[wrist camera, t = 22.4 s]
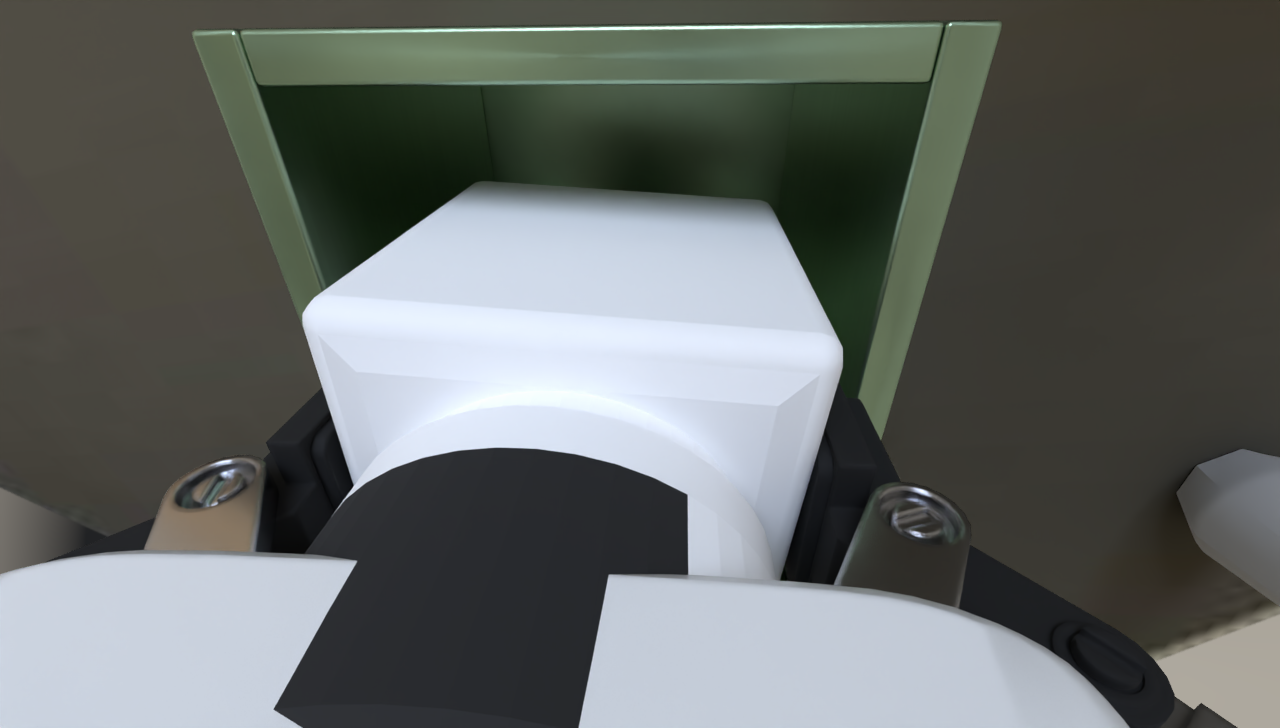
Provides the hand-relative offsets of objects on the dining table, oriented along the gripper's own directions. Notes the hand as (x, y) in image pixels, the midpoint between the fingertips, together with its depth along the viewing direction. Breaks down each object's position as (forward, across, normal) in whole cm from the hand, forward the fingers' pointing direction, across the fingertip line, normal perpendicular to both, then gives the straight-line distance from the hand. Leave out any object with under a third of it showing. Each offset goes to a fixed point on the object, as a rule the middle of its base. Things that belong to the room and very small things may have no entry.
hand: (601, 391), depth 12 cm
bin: (+12, 0, +1) cm, 12 cm away
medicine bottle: (+4, 0, 0) cm, 4 cm away
